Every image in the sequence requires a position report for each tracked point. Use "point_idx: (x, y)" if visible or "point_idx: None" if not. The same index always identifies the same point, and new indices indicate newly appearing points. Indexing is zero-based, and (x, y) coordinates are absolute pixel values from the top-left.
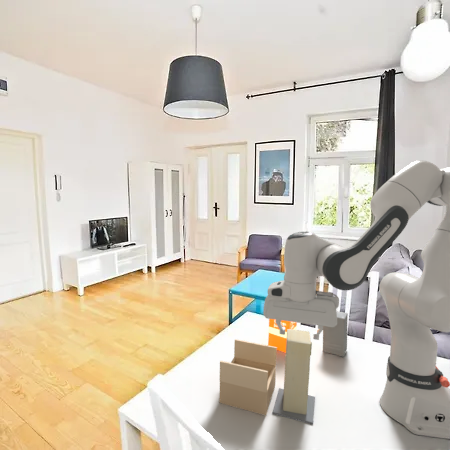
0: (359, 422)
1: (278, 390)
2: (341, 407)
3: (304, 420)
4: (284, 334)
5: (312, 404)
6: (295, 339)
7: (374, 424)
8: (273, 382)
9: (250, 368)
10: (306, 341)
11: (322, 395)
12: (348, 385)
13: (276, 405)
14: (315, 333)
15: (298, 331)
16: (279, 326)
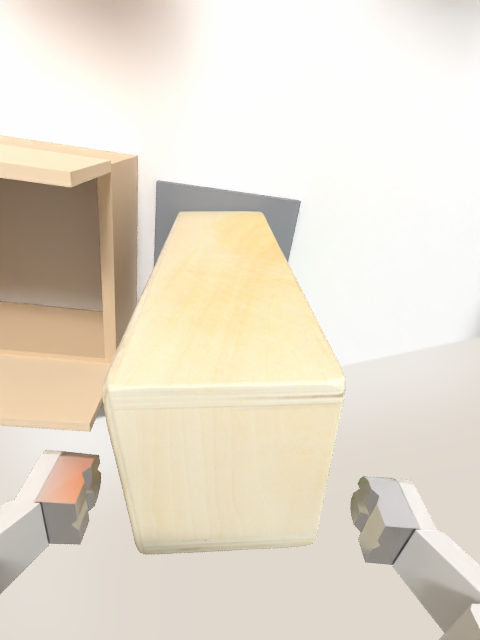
0: (415, 283)
1: (156, 198)
2: (384, 227)
3: None
4: (98, 490)
5: (284, 248)
6: (201, 526)
7: (458, 280)
8: (127, 213)
9: (3, 425)
10: (287, 526)
11: (332, 173)
12: (475, 60)
13: None
14: (386, 558)
15: (228, 411)
16: (10, 575)
